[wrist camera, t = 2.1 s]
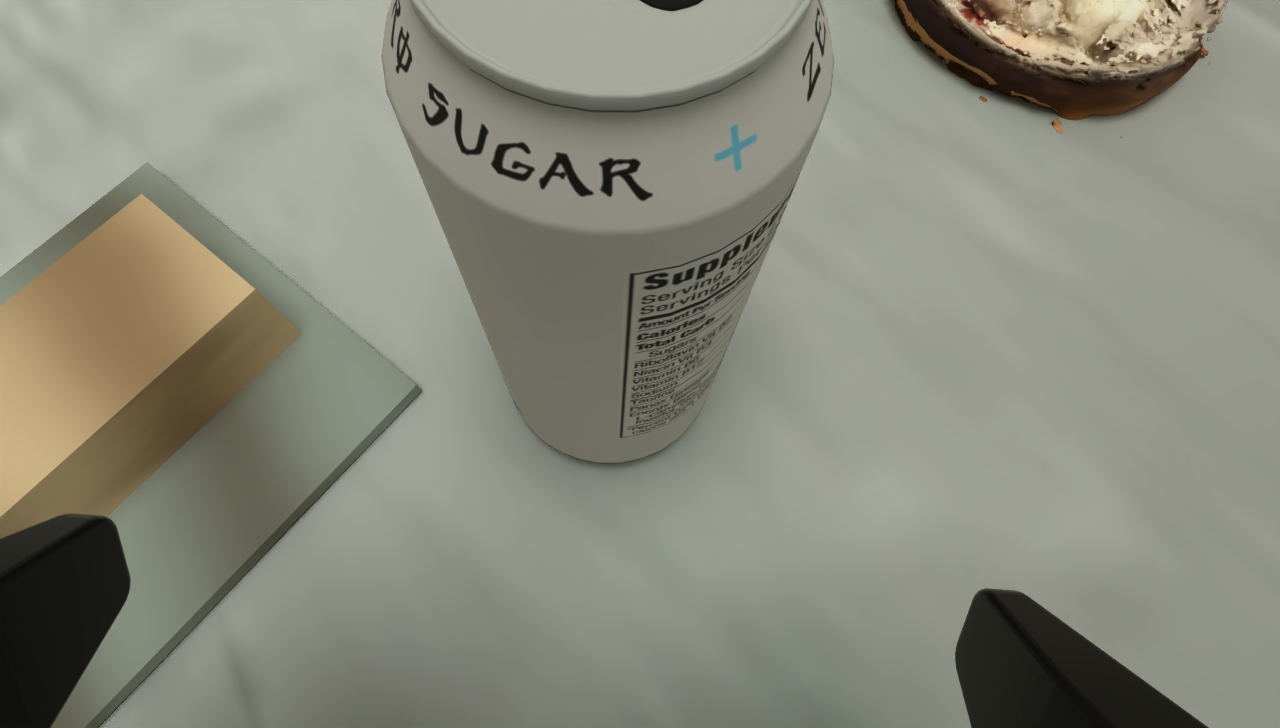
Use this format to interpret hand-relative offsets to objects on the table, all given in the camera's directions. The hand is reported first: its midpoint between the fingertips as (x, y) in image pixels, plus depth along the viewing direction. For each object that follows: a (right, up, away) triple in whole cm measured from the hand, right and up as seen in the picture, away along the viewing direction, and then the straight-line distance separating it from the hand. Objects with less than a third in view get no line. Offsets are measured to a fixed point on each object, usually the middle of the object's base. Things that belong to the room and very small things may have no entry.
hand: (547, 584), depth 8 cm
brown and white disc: (+17, +17, +21) cm, 32 cm away
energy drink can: (0, +2, +15) cm, 15 cm away
